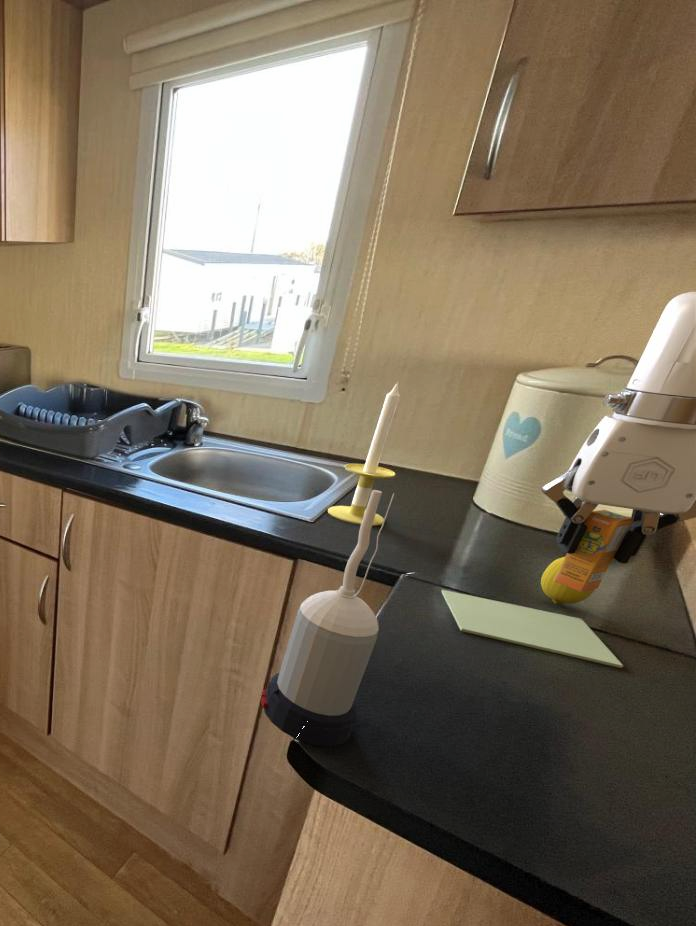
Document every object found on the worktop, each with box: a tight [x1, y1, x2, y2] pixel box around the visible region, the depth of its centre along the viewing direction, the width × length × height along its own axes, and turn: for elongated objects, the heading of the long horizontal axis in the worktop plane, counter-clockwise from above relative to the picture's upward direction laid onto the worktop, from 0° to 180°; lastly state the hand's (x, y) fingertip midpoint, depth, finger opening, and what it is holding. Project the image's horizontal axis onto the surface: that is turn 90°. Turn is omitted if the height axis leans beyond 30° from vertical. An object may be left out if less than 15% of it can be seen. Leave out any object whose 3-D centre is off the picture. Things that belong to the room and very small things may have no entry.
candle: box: [327, 380, 401, 527], centre depth 106 cm, size 10×10×27 cm
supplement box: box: [554, 509, 634, 592], centre depth 69 cm, size 3×3×10 cm
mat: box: [440, 589, 624, 669], centre depth 75 cm, size 16×12×1 cm
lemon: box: [540, 556, 596, 606], centre depth 79 cm, size 6×6×8 cm
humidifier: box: [260, 489, 395, 748], centre depth 52 cm, size 8×8×25 cm
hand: (591, 552), depth 69 cm, fingers closed on supplement box, 4 cm apart
